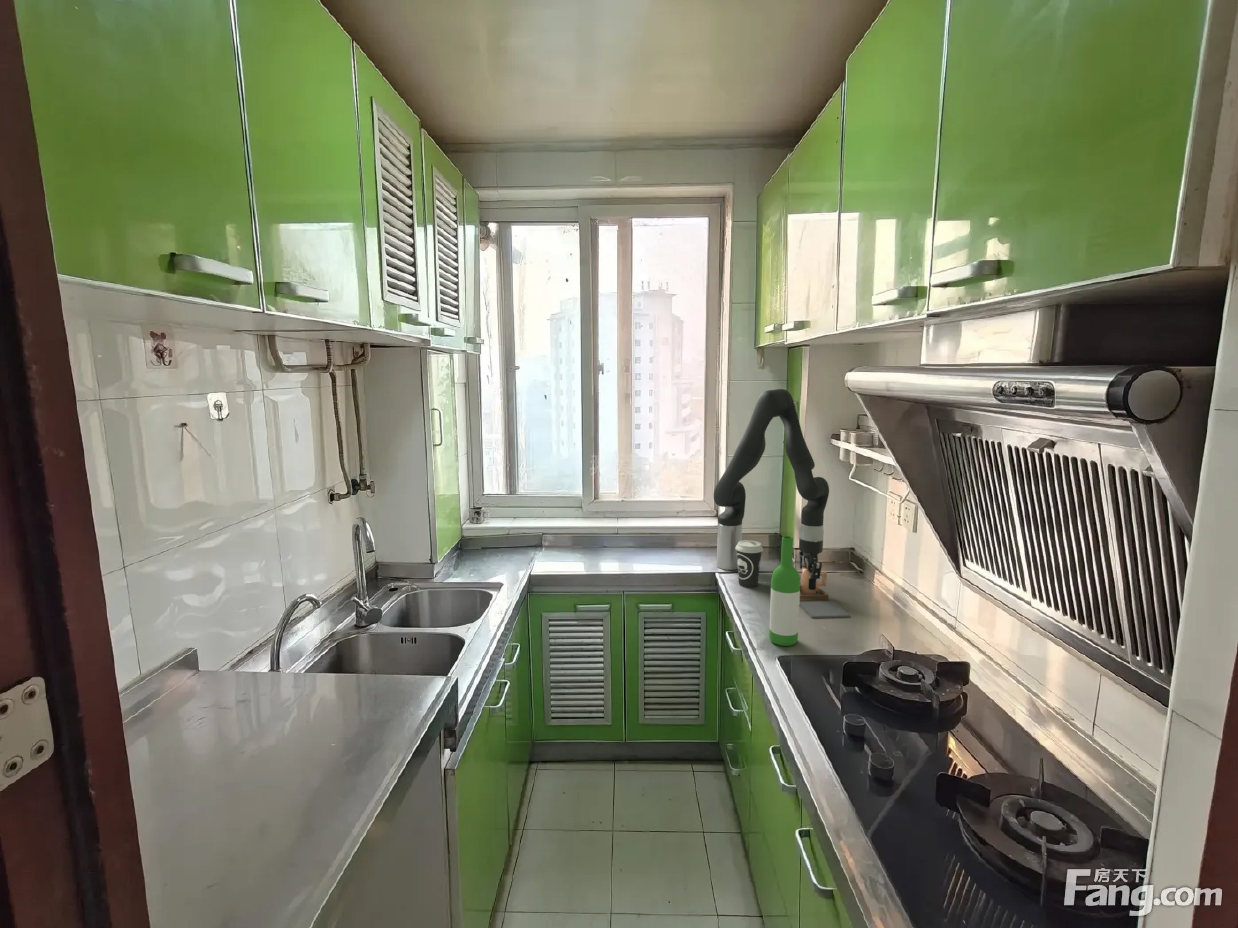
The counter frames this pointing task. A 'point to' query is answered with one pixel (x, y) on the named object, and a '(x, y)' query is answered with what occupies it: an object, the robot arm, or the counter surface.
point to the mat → (823, 609)
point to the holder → (815, 596)
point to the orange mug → (805, 582)
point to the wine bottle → (785, 598)
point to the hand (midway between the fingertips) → (808, 586)
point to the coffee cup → (748, 562)
